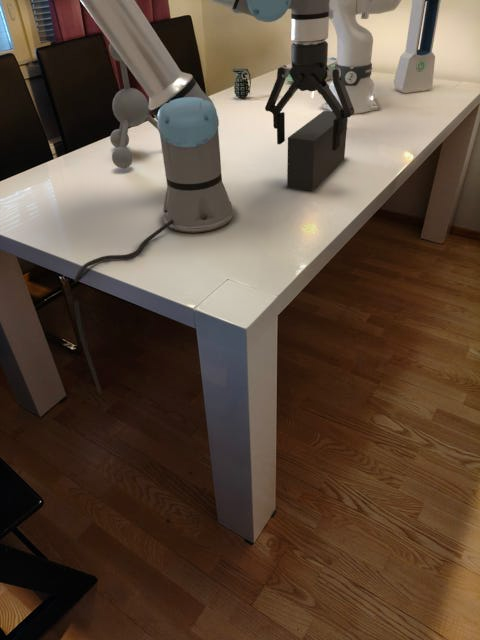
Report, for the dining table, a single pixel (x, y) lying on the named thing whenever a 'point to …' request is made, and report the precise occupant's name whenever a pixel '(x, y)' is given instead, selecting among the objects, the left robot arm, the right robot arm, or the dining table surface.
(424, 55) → the electronic device
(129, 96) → the molecular model
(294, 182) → the box
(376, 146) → the dining table surface
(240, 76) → the grenade
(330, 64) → the decorative block
